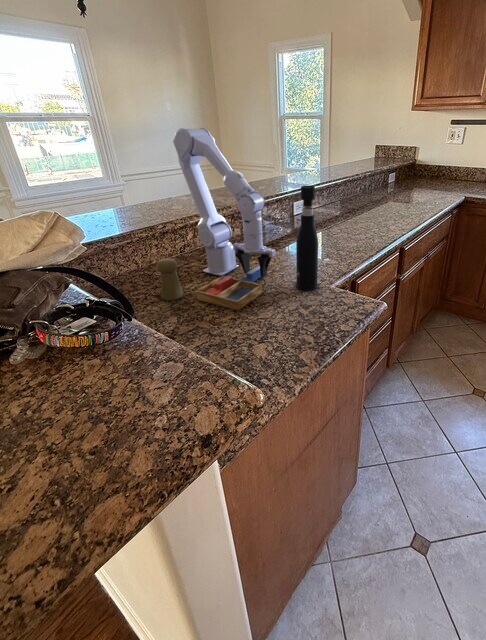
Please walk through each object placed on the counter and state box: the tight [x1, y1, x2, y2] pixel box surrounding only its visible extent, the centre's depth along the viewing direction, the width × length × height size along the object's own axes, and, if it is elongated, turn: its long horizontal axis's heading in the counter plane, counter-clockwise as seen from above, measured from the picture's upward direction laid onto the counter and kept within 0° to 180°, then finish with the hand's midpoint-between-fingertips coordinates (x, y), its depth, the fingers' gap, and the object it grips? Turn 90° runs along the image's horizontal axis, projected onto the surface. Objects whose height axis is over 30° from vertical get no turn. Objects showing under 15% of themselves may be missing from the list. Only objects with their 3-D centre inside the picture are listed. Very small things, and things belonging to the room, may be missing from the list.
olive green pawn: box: [156, 258, 184, 301], centre depth 100 cm, size 6×6×11 cm
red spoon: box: [205, 275, 234, 295], centre depth 103 cm, size 10×4×3 cm, turn 154°
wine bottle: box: [295, 185, 319, 292], centre depth 102 cm, size 6×6×30 cm
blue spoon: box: [238, 265, 262, 283], centre depth 111 cm, size 10×4×3 cm, turn 154°
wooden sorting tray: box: [195, 275, 264, 311], centre depth 102 cm, size 12×14×3 cm
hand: (255, 274), depth 113 cm, fingers open, 6 cm apart
